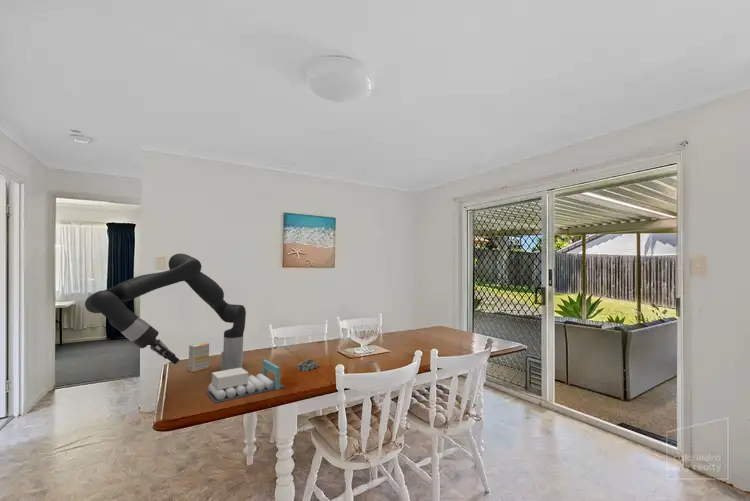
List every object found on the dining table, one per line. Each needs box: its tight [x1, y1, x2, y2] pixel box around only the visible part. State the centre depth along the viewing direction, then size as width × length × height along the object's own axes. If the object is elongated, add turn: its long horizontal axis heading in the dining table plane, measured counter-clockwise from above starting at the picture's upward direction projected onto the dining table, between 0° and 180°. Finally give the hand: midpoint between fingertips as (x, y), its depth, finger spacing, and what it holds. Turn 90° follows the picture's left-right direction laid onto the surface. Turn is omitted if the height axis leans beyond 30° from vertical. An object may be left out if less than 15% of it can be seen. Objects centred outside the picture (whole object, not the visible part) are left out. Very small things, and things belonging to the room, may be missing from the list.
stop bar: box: [262, 359, 281, 391], centre depth 155 cm, size 2×16×9 cm, turn 39°
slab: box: [211, 367, 249, 390], centre depth 144 cm, size 12×9×4 cm
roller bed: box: [205, 373, 286, 404], centre depth 148 cm, size 29×14×4 cm, turn 129°
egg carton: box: [296, 357, 319, 372], centre depth 181 cm, size 11×8×4 cm
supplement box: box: [187, 342, 210, 373], centre depth 175 cm, size 8×5×13 cm, turn 146°
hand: (175, 359), depth 131 cm, fingers open, 7 cm apart
